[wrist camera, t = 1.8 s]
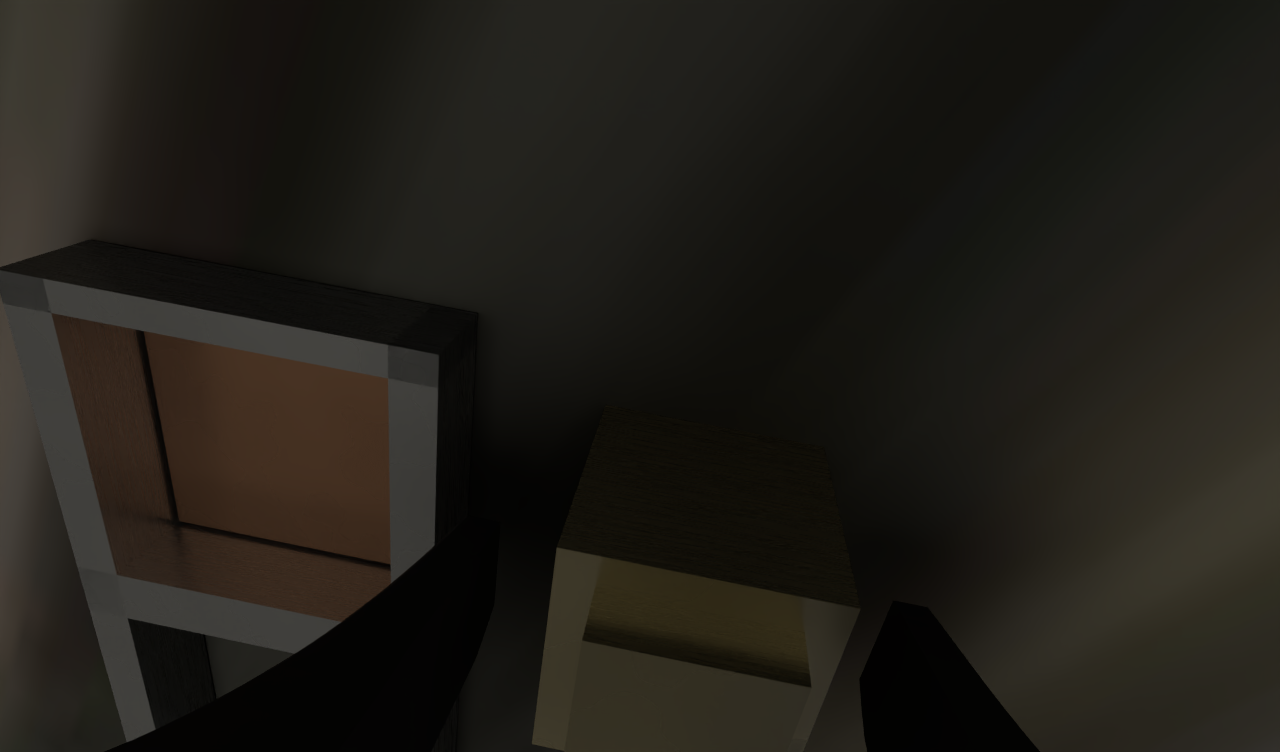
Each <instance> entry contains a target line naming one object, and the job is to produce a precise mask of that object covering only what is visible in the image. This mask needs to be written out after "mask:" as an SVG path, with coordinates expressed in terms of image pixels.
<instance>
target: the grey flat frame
mask: <svg viewBox="0 0 1280 752" xmlns="http://www.w3.org/2000/svg"><path fill="white" fill-rule="evenodd" d="M0 293H1V297H2V301H3V304H4V308H5V311H6V315H7V318H8V322H9V325H10V329H11V332H12V336H13V340H14V343H15V347H16V350H17V354H18V357H19V361H20V364H21V368H22V371H23V375H24V379H25V382H26V386H27V389H28V393H29V396H30V400H31V403H32V407H33V411H34V414H35V418H36V421H37V425H38V428H39V432H40V435H41V439H42V442H43V446H44V450H45V453H46V457H47V460H48V464H49V467H50V471H51V474H52V478H53V481H54V485H55V489H56V492H57V496H58V499H59V503H60V506H61V510H62V513H63V517H64V520H65V524H66V528H67V531H68V535H69V538H70V542H71V545H72V549H73V552H74V556H75V560H76V563H77V567H78V570H79V574H80V577H81V581H82V584H83V588H84V591H85V595H86V599H87V602H88V606H89V609H90V613H91V616H92V620H93V623H94V627H95V630H96V634H97V638H98V641H99V645H100V648H101V652H102V655H103V659H104V662H105V666H106V669H107V673H108V677H109V680H110V684H111V687H112V691H113V694H114V698H115V701H116V705H117V709H118V712H119V716H120V719H121V723H122V726H123V730H124V733H125V737H126V740H127V742H129V741H131V740H134V739H136V738H138V737H140V736H142V735H145V734H147V733H149V732H151V731H153V730H156V729H158V728H160V727H162V726H164V725H166V724H168V723H170V722H172V721H174V720H176V719H178V718H180V717H182V716H184V715H186V714H188V713H190V712H192V711H194V710H196V709H198V708H200V707H202V706H204V705H206V704H208V703H210V702H212V701H214V700H215V695H214V689H213V684H212V679H211V673H210V668H209V662H208V657H207V652H206V646H205V641H204V635H203V634H205V635H209V636H214V637H219V638H224V639H228V640H233V641H238V642H243V643H247V644H252V645H257V646H261V647H266V648H271V649H276V650H280V651H285V652H290V653H297V652H298V651H300V650H301V649H303V648H304V647H306V646H307V645H309V644H310V643H312V642H313V641H315V640H316V639H318V638H319V637H321V636H322V635H324V634H325V633H327V632H328V631H329V630H331V629H332V628H334V627H335V626H336V625H338V624H339V623H341V622H342V621H343V620H345V619H346V618H347V617H349V616H350V615H351V614H353V613H354V612H355V611H356V610H358V609H359V608H360V607H362V606H363V605H364V604H366V603H367V602H368V601H370V600H371V599H372V598H374V597H375V596H376V595H377V594H379V593H380V592H381V591H382V590H384V589H385V588H386V587H387V586H389V585H390V584H391V583H392V582H393V581H394V580H396V579H397V578H398V577H399V576H400V575H402V574H403V573H404V572H405V571H406V570H407V569H409V568H410V567H411V566H412V565H413V564H415V563H416V562H417V561H418V560H419V559H420V558H421V557H422V556H423V555H425V554H426V553H427V552H428V551H429V550H430V549H431V548H432V547H433V546H435V545H436V544H437V543H438V542H439V541H440V540H441V539H442V538H443V537H444V536H445V535H446V534H447V533H448V532H449V531H450V530H452V529H453V528H454V527H455V526H456V525H457V524H458V523H459V522H460V521H461V520H462V519H464V518H465V517H467V515H468V495H469V474H470V454H471V434H472V414H473V394H474V374H475V354H476V333H477V313H473V312H468V311H462V310H457V309H452V308H446V307H441V306H436V305H431V304H425V303H420V302H415V301H410V300H404V299H399V298H394V297H389V296H383V295H378V294H373V293H367V292H362V291H357V290H352V289H346V288H341V287H336V286H331V285H325V284H320V283H315V282H309V281H304V280H299V279H294V278H288V277H283V276H278V275H273V274H267V273H262V272H257V271H251V270H246V269H241V268H236V267H230V266H225V265H220V264H215V263H209V262H204V261H199V260H193V259H188V258H183V257H178V256H172V255H167V254H162V253H157V252H151V251H146V250H141V249H136V248H130V247H125V246H120V245H114V244H109V243H104V242H99V241H93V240H86V241H83V242H80V243H77V244H73V245H70V246H67V247H64V248H60V249H57V250H54V251H51V252H48V253H44V254H41V255H38V256H35V257H31V258H28V259H25V260H22V261H18V262H15V263H12V264H9V265H6V266H2V267H0ZM458 696H459V695H458ZM457 716H458V697H457V699H456V701H455V703H454V705H453V707H452V709H451V712H450V714H449V716H448V718H447V720H446V722H445V724H444V726H443V728H442V730H441V732H440V735H439V737H438V739H437V741H436V743H435V745H434V747H433V749H432V751H431V752H456V736H457Z"/></svg>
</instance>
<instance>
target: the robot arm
mask: <svg viewBox="0 0 1280 752" xmlns="http://www.w3.org/2000/svg"><path fill="white" fill-rule="evenodd" d="M499 534H500V522H497V521H492V520H487V519H482V518H477V517H472V516H467V517H465V518H464V519H462V520H461V521H460V522H459V523H458V524H457V525H456V526H455V527H454V528H453V529H452V530H450V531H449V532H448V533H447V534H446V535H445V536H444V537H443V538H442V539H441V540H440V541H439V542H438V543H437V544H436V545H435V546H433V547H432V548H431V549H430V550H429V551H428V552H427V553H426V554H425V555H423V556H422V557H421V558H420V559H419V560H418V561H417V562H416V563H415V564H413V565H412V566H411V567H410V568H409V569H407V570H406V571H405V572H404V573H403V574H402V575H400V576H399V577H398V578H397V579H396V580H394V581H393V582H392V583H391V584H390V585H389V586H387V587H386V588H385V589H384V590H382V591H381V592H380V593H379V594H377V595H376V596H375V597H374V598H372V599H371V600H370V601H368V602H367V603H366V604H364V605H363V606H362V607H360V608H359V609H358V610H356V611H355V612H354V613H353V614H351V615H350V616H349V617H347V618H346V619H345V620H343V621H342V622H341V623H339V624H338V625H336V626H335V627H334V628H332V629H331V630H329V631H328V632H327V633H325V634H324V635H322V636H321V637H319V638H318V639H316V640H315V641H313V642H312V643H310V644H309V645H307V646H306V647H304V648H303V649H301V650H300V651H298V652H297V653H295V654H293V655H292V656H290V657H289V658H287V659H286V660H284V661H282V662H281V663H279V664H277V665H276V666H274V667H272V668H271V669H269V670H267V671H265V672H264V673H262V674H260V675H259V676H257V677H255V678H254V679H252V680H250V681H249V682H247V683H245V684H243V685H242V686H240V687H238V688H236V689H234V690H233V691H231V692H229V693H227V694H225V695H223V696H222V697H220V698H218V699H216V700H214V701H212V702H210V703H208V704H206V705H204V706H202V707H200V708H198V709H196V710H194V711H192V712H190V713H188V714H186V715H184V716H182V717H180V718H178V719H176V720H174V721H172V722H170V723H168V724H166V725H164V726H162V727H160V728H158V729H156V730H153V731H151V732H149V733H147V734H145V735H142V736H140V737H138V738H136V739H134V740H131V741H129V742H127V743H124V744H122V745H119V746H117V747H115V748H112V749H110V750H107V751H105V752H431V751H432V749H433V747H434V745H435V743H436V741H437V739H438V737H439V735H440V732H441V730H442V728H443V726H444V724H445V722H446V720H447V718H448V716H449V714H450V712H451V709H452V707H453V705H454V703H455V701H456V699H457V697H458V695H459V693H460V690H461V688H462V686H463V684H464V682H465V680H466V678H467V676H468V673H469V671H470V669H471V667H472V665H473V663H474V661H475V658H476V656H477V653H478V650H479V648H480V645H481V642H482V639H483V636H484V633H485V630H486V627H487V624H488V621H489V619H490V616H491V613H492V610H493V607H494V600H495V587H496V574H497V561H498V548H499ZM860 692H861V706H862V717H863V727H864V737H865V742H866V747H867V752H1040V751H1039V750H1038V749H1037V748H1036V746H1035V745H1034V744H1033V743H1032V742H1031V741H1030V739H1029V738H1028V737H1027V736H1026V735H1025V733H1024V732H1023V731H1022V730H1021V728H1020V727H1019V726H1018V725H1017V724H1016V722H1015V721H1014V720H1013V719H1012V717H1011V716H1010V715H1009V714H1008V712H1007V711H1006V710H1005V709H1004V707H1003V706H1002V705H1001V703H1000V702H999V701H998V700H997V698H996V697H995V696H994V695H993V693H992V692H991V691H990V689H989V688H988V687H987V685H986V684H985V683H984V682H983V680H982V679H981V678H980V676H979V675H978V674H977V672H976V671H975V670H974V668H973V667H972V666H971V664H970V663H969V662H968V660H967V659H966V658H965V656H964V655H963V654H962V652H961V651H960V650H959V648H958V647H957V646H956V644H955V643H954V642H953V640H952V639H951V638H950V636H949V635H948V634H947V632H946V631H945V630H944V628H943V627H942V626H941V624H940V623H939V622H938V620H937V619H936V618H935V616H934V615H933V614H932V612H931V611H930V610H929V609H928V607H923V606H918V605H913V604H908V603H903V602H898V601H893V603H892V605H891V607H890V610H889V612H888V614H887V617H886V619H885V621H884V624H883V626H882V628H881V631H880V633H879V635H878V638H877V640H876V642H875V644H874V647H873V649H872V651H871V654H870V656H869V658H868V661H867V663H866V665H865V668H864V670H863V672H862V675H861V677H860Z"/></svg>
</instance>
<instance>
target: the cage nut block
mask: <svg viewBox="0 0 1280 752" xmlns="http://www.w3.org/2000/svg"><path fill="white" fill-rule="evenodd" d="M860 610H861V607H860V603H859V599H858V594H857V590H856V586H855V581H854V577H853V572H852V568H851V564H850V559H849V555H848V551H847V546H846V542H845V537H844V533H843V529H842V524H841V520H840V516H839V511H838V507H837V502H836V498H835V494H834V489H833V485H832V481H831V476H830V472H829V467H828V463H827V459H826V454H825V450H824V447H820V446H815V445H810V444H805V443H800V442H794V441H789V440H784V439H779V438H774V437H769V436H763V435H758V434H753V433H748V432H743V431H738V430H733V429H727V428H722V427H717V426H712V425H707V424H702V423H696V422H691V421H686V420H681V419H676V418H671V417H666V416H660V415H655V414H650V413H645V412H640V411H635V410H630V409H624V408H619V407H614V406H609V405H606V406H605V408H604V411H603V414H602V417H601V420H600V423H599V426H598V429H597V432H596V435H595V438H594V441H593V443H592V446H591V449H590V452H589V455H588V458H587V461H586V464H585V467H584V470H583V473H582V476H581V478H580V481H579V484H578V487H577V490H576V493H575V496H574V499H573V502H572V505H571V508H570V511H569V513H568V516H567V519H566V522H565V525H564V528H563V531H562V534H561V537H560V540H559V543H558V546H557V550H556V558H555V566H554V574H553V582H552V590H551V597H550V605H549V613H548V621H547V629H546V637H545V645H544V653H543V661H542V668H541V676H540V684H539V692H538V700H537V708H536V716H535V724H534V732H533V739H532V744H534V745H539V746H544V747H548V748H553V749H558V750H562V751H564V752H803V751H804V748H805V746H806V743H807V741H808V738H809V736H810V733H811V731H812V729H813V726H814V724H815V721H816V719H817V716H818V714H819V711H820V709H821V706H822V704H823V701H824V699H825V696H826V694H827V691H828V689H829V686H830V684H831V682H832V679H833V677H834V674H835V672H836V669H837V667H838V664H839V662H840V659H841V657H842V654H843V652H844V649H845V647H846V644H847V642H848V639H849V637H850V635H851V632H852V630H853V627H854V625H855V622H856V620H857V617H858V615H859V612H860Z"/></svg>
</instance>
